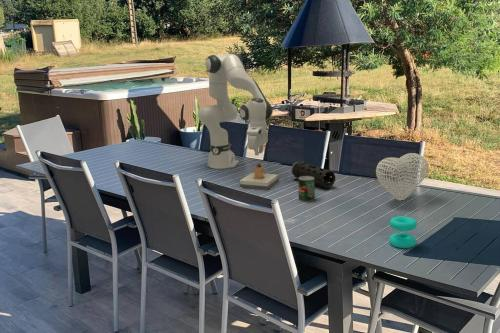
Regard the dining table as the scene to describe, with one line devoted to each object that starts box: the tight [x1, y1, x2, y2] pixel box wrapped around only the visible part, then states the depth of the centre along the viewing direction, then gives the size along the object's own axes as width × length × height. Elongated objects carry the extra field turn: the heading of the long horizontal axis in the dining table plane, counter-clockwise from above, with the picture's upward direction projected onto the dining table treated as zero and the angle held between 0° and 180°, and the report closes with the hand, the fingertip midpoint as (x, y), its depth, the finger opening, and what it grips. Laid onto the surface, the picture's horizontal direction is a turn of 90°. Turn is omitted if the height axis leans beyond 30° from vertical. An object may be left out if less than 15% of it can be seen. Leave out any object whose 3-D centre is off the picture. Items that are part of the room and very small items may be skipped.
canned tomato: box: [297, 176, 316, 203], centre depth 258 cm, size 8×8×11 cm
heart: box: [375, 152, 430, 202], centre depth 250 cm, size 28×16×22 cm, turn 122°
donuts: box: [388, 215, 418, 249], centre depth 199 cm, size 10×10×10 cm
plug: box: [253, 163, 265, 179], centre depth 286 cm, size 4×4×10 cm
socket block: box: [239, 172, 279, 191], centre depth 287 cm, size 17×16×4 cm
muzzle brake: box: [290, 161, 336, 190], centre depth 285 cm, size 10×28×10 cm, turn 32°
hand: (258, 154), depth 283 cm, fingers open, 4 cm apart
